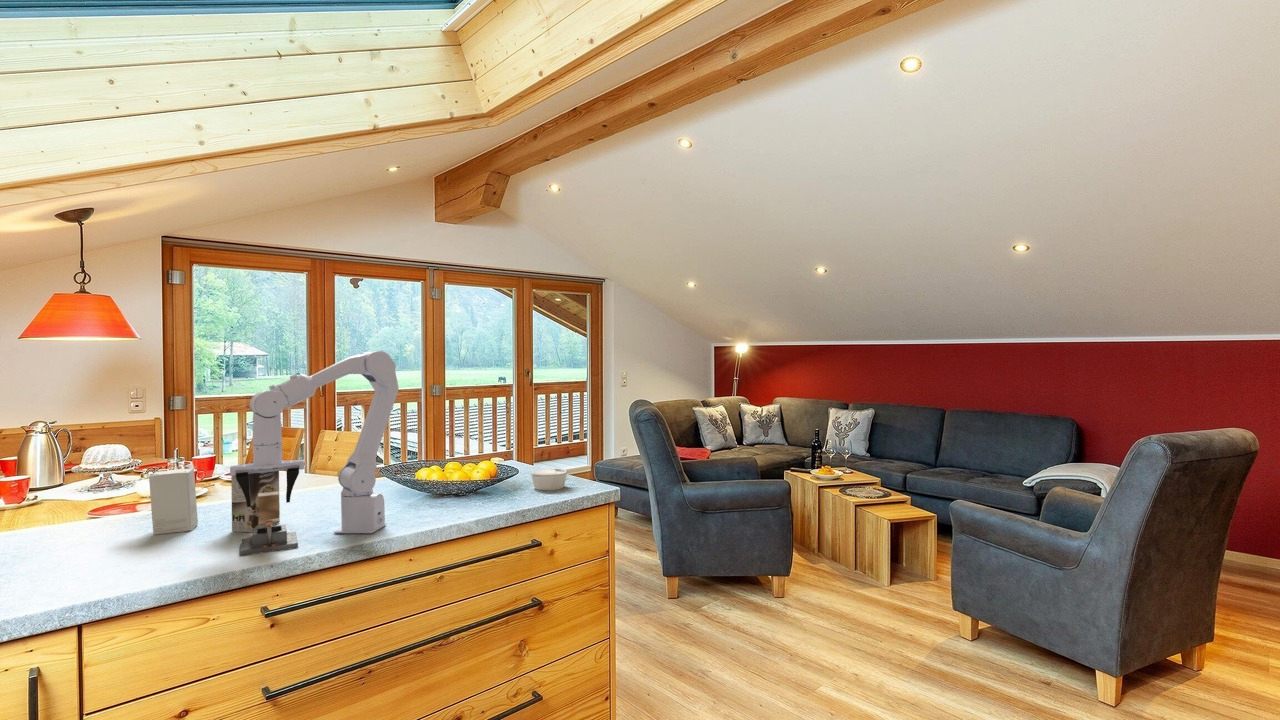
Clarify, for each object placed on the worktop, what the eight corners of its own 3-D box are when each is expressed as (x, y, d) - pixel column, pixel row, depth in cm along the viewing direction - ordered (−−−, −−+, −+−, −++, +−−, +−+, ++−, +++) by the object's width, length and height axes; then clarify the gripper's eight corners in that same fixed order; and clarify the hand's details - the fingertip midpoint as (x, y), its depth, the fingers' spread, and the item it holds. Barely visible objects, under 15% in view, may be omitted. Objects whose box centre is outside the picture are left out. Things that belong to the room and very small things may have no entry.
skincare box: (198, 525, 165) (196, 467, 165) (190, 531, 160) (189, 471, 159) (158, 529, 162) (157, 470, 162) (150, 535, 157) (148, 474, 156)
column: (279, 517, 150) (278, 491, 150) (279, 521, 146) (279, 494, 146) (258, 520, 148) (258, 493, 148) (258, 524, 144) (257, 496, 144)
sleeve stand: (296, 535, 155) (295, 508, 155) (298, 547, 145) (297, 518, 145) (241, 543, 149) (241, 515, 149) (240, 555, 140) (239, 525, 140)
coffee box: (253, 532, 158) (252, 466, 158) (230, 531, 159) (229, 466, 159) (281, 523, 167) (280, 460, 167) (259, 522, 168) (258, 459, 168)
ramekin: (574, 487, 207) (574, 470, 206) (546, 493, 198) (546, 476, 198) (552, 482, 214) (551, 467, 214) (524, 488, 206) (524, 471, 206)
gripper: (228, 448, 140) (230, 511, 140) (304, 443, 147) (305, 503, 147) (230, 445, 146) (231, 505, 146) (302, 439, 153) (304, 497, 153)
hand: (268, 503), depth 147 cm, fingers open, 7 cm apart
